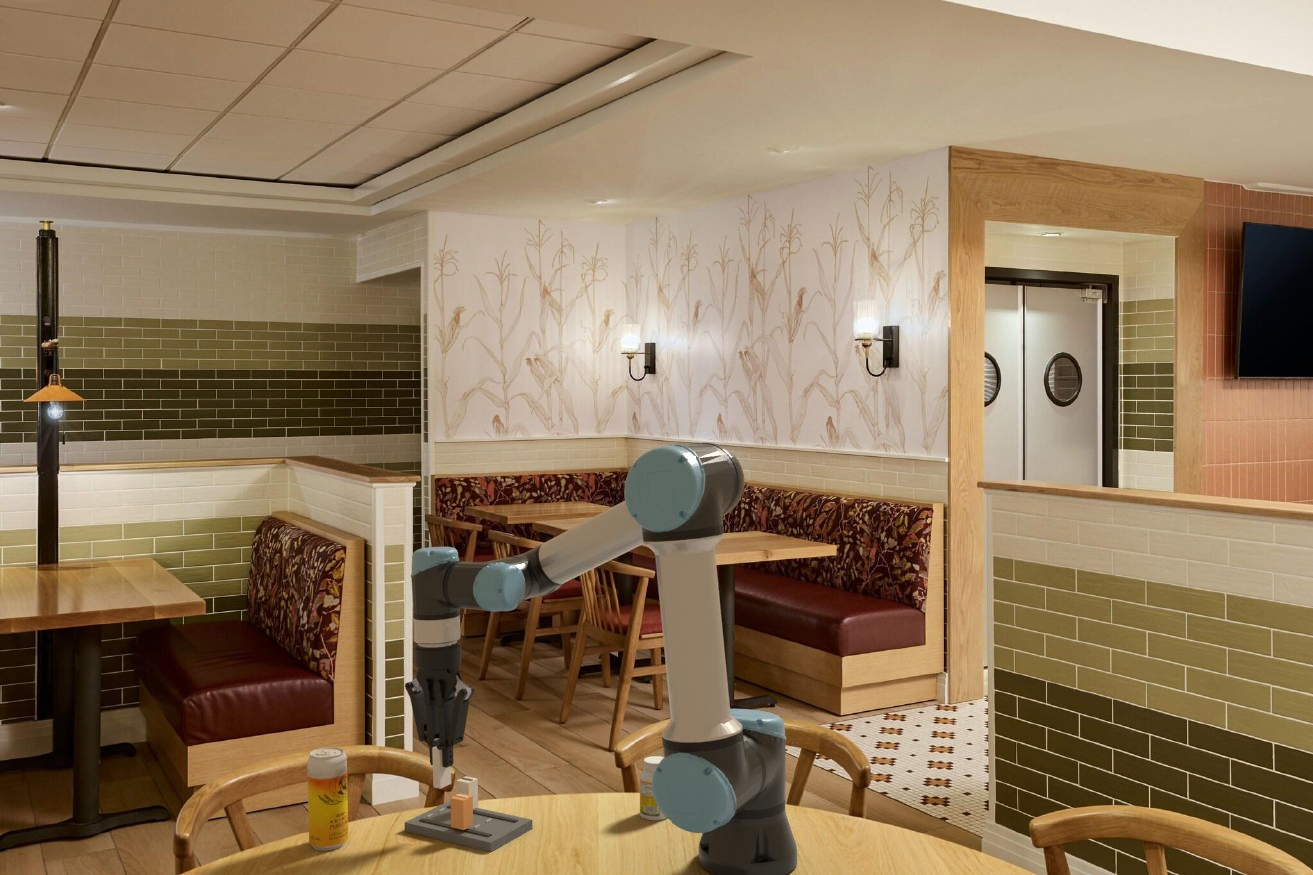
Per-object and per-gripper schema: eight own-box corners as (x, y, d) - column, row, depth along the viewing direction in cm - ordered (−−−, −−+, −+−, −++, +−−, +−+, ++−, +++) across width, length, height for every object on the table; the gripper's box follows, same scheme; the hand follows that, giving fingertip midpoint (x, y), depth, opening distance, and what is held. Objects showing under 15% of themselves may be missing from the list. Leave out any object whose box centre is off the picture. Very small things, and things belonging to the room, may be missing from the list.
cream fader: (478, 806, 192) (477, 777, 192) (469, 811, 190) (468, 781, 190) (466, 803, 193) (465, 775, 193) (457, 808, 191) (456, 779, 191)
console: (532, 828, 187) (532, 818, 187) (491, 851, 178) (491, 841, 178) (448, 809, 196) (448, 799, 196) (404, 831, 187) (404, 820, 187)
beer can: (337, 853, 178) (335, 759, 178) (301, 850, 179) (300, 756, 179) (355, 838, 184) (353, 747, 183) (320, 835, 185) (318, 745, 185)
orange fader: (473, 825, 184) (472, 794, 184) (463, 830, 182) (463, 799, 181) (460, 822, 185) (460, 792, 185) (451, 827, 183) (450, 796, 183)
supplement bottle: (647, 822, 190) (646, 766, 189) (635, 812, 194) (634, 757, 194) (676, 817, 192) (676, 762, 191) (663, 807, 197) (663, 753, 196)
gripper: (483, 640, 185) (488, 784, 185) (422, 635, 191) (427, 773, 192) (453, 649, 178) (458, 798, 179) (391, 643, 185) (396, 786, 185)
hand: (442, 785), depth 185 cm, fingers closed
